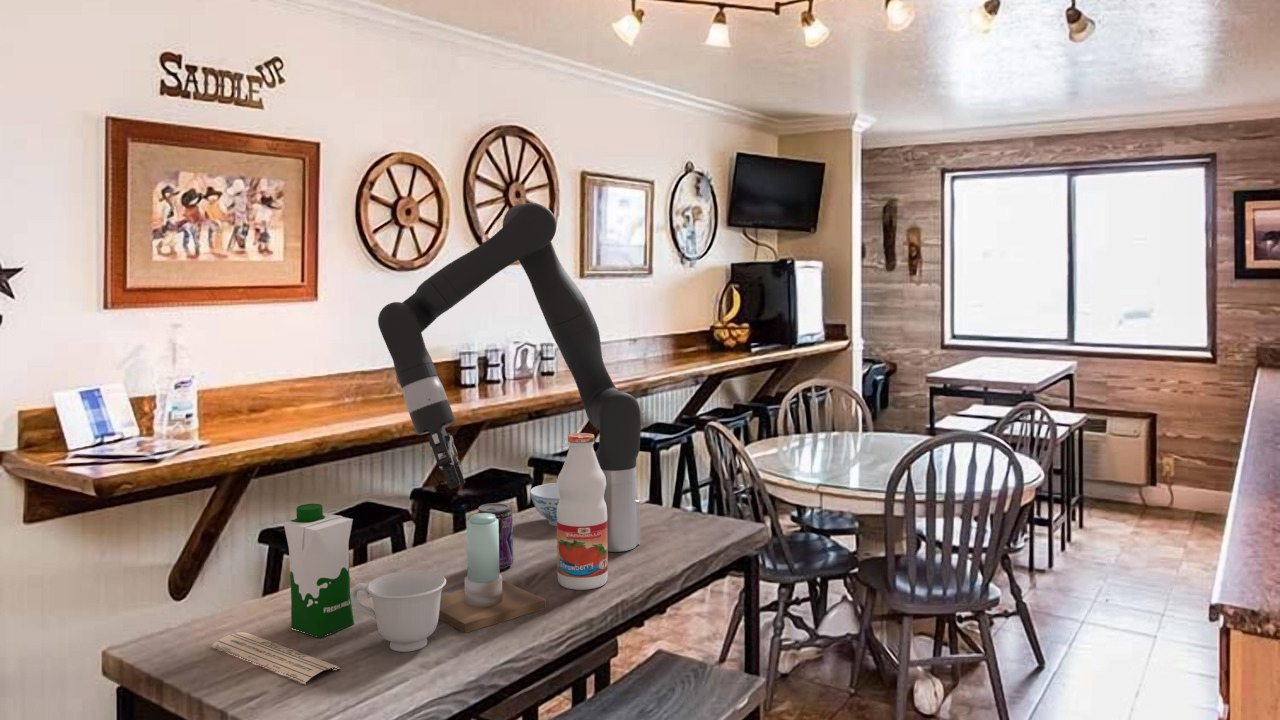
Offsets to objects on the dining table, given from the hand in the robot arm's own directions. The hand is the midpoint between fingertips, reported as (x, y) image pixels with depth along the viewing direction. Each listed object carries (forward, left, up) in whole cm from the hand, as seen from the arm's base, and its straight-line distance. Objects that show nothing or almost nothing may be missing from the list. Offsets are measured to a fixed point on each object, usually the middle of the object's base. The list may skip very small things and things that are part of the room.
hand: (457, 486), depth 170 cm
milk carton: (+28, +4, -19) cm, 34 cm away
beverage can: (-10, -3, -19) cm, 21 cm away
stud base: (+4, +15, -18) cm, 24 cm away
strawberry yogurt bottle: (-17, +16, -18) cm, 30 cm away
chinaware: (-39, -19, -19) cm, 47 cm away
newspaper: (+38, +10, -19) cm, 44 cm away
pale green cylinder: (+4, +15, -13) cm, 20 cm away
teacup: (+22, +19, -19) cm, 34 cm away
